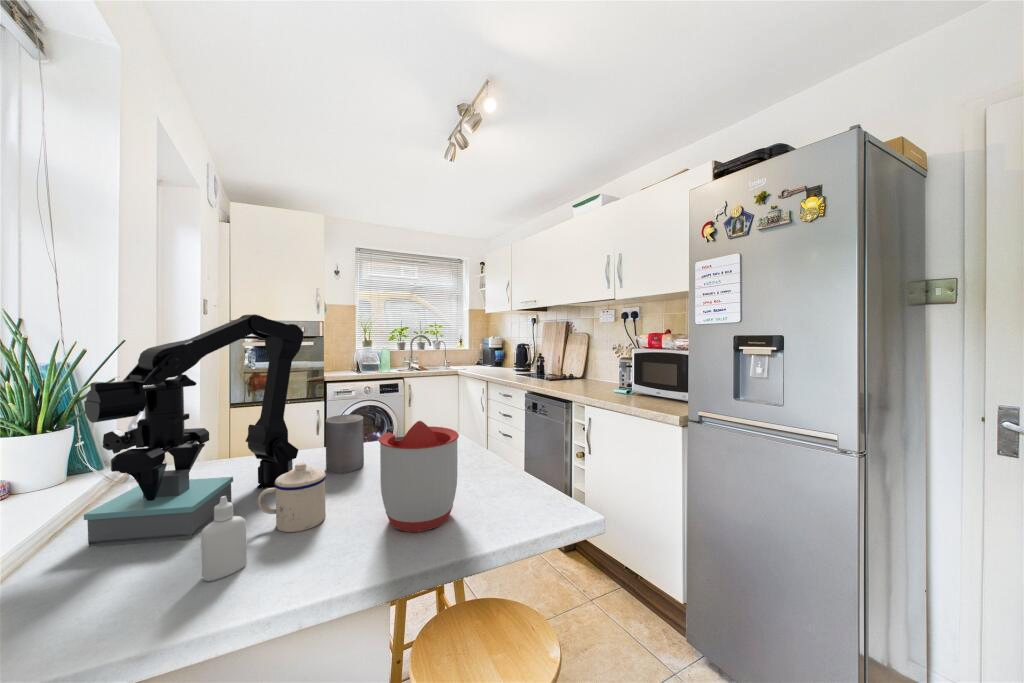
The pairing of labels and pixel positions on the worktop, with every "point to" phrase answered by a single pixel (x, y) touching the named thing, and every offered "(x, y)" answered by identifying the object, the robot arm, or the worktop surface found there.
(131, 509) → the lid
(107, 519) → the tub
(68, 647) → the worktop surface
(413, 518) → the citrus juicer
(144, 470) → the robot arm
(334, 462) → the pillar candle
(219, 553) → the eye dropper bottle
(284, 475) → the teacup with lid
